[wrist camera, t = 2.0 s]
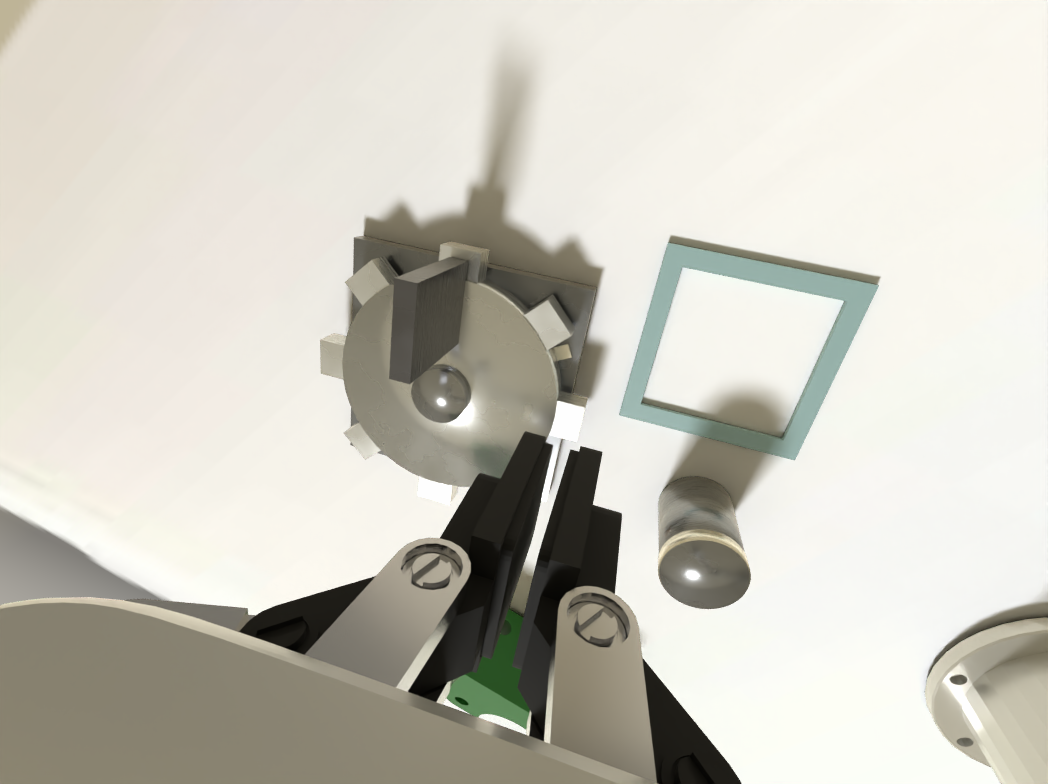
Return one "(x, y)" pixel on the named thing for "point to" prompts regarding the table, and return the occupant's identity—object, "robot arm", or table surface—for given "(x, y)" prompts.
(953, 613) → the table surface
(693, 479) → the silver metal cylinder
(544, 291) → the sprocket base
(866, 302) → the seat bay
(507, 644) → the green mounting bracket
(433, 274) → the sprocket
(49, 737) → the robot arm
